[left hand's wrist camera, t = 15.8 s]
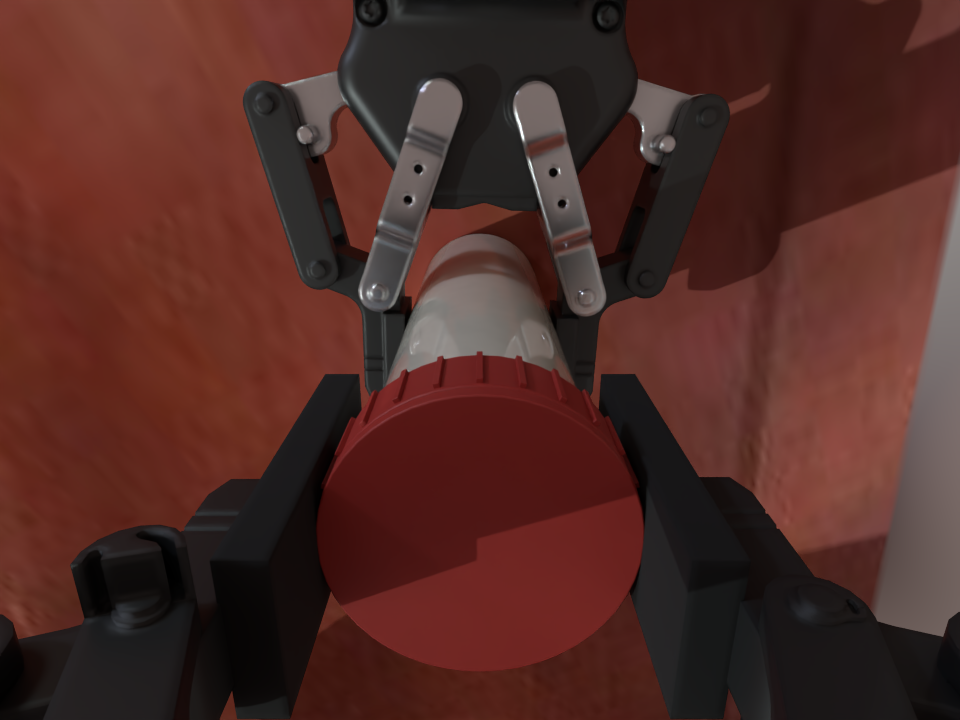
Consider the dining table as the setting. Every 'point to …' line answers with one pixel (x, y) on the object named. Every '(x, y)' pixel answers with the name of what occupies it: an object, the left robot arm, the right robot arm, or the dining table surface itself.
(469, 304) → the jar
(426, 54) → the right robot arm
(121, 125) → the dining table surface
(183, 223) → the dining table surface
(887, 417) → the dining table surface
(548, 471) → the lid
